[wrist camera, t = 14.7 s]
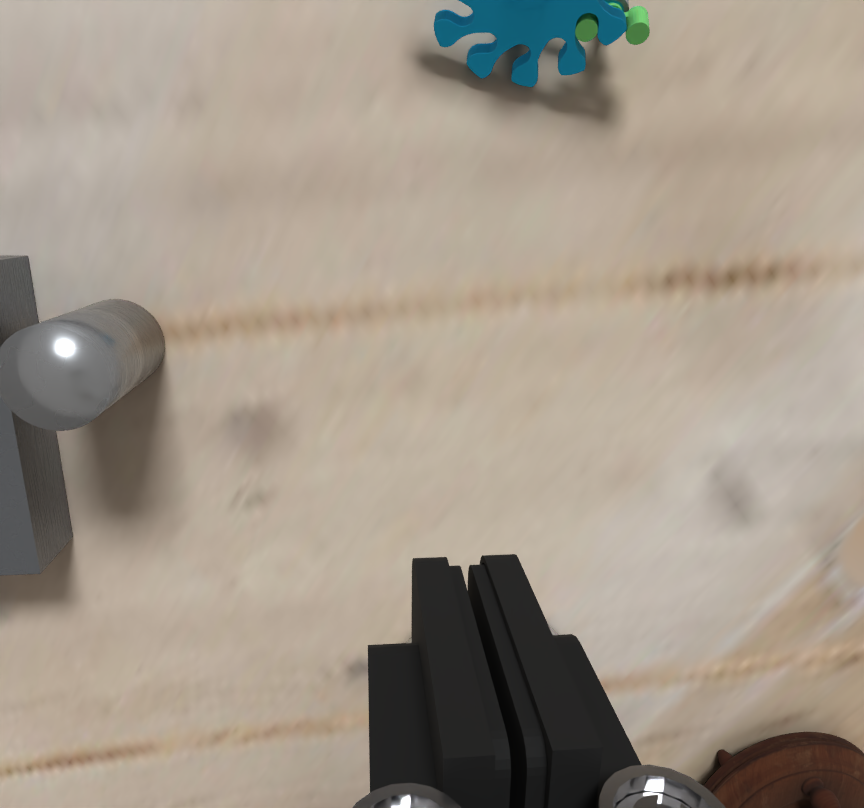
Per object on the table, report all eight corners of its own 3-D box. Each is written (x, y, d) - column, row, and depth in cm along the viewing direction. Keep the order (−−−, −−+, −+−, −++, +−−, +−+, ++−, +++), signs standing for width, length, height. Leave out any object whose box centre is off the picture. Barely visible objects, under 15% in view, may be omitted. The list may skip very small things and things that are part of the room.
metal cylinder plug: (168, 383, 36) (115, 430, 28) (80, 383, 35) (3, 431, 28) (160, 299, 35) (103, 325, 27) (69, 298, 34) (-15, 324, 26)
